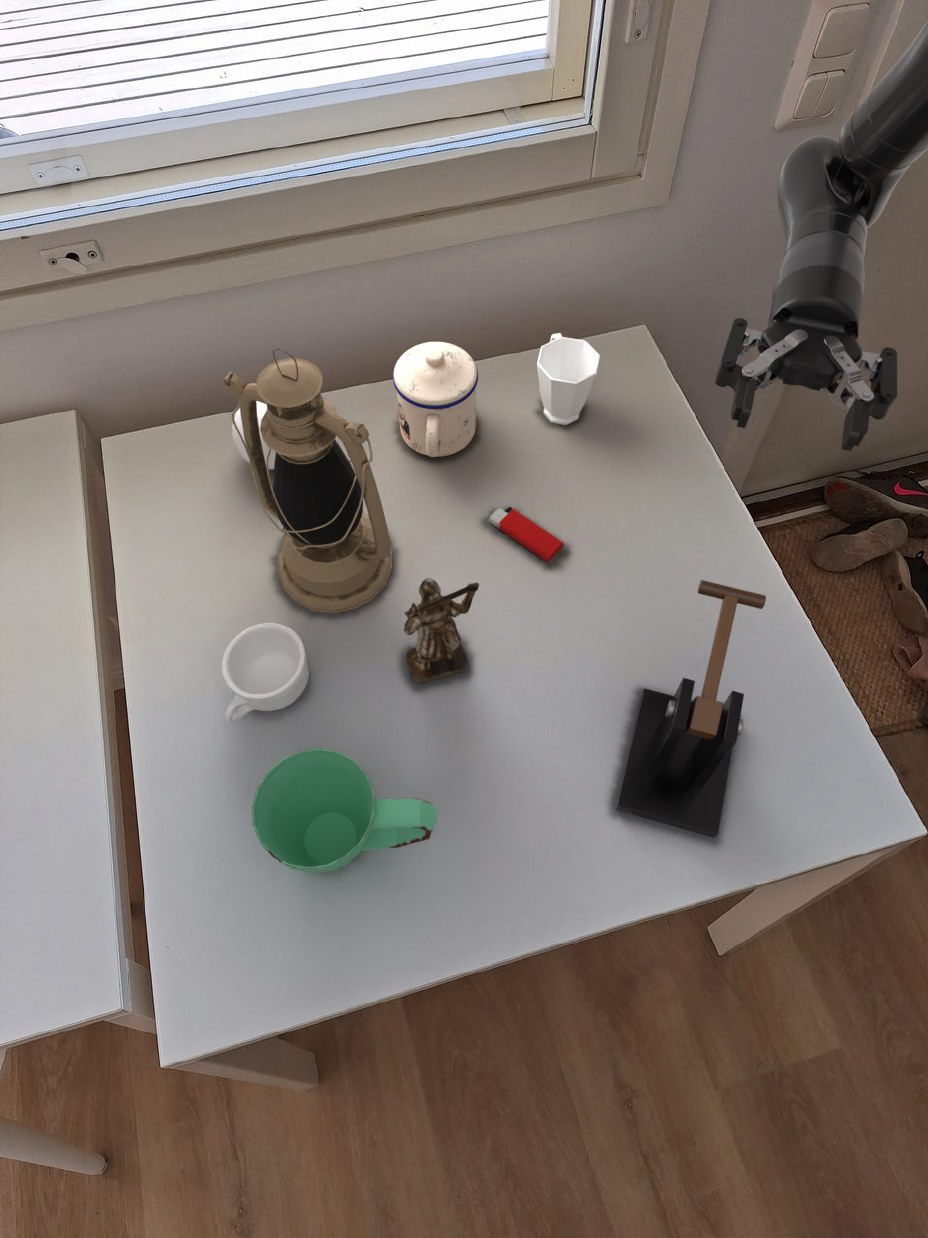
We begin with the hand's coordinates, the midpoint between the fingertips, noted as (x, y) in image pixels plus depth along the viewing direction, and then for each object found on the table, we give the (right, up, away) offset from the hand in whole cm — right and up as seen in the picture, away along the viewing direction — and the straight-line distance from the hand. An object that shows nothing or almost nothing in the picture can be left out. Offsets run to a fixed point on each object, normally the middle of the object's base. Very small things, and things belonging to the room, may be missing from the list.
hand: (796, 432), depth 71 cm
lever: (-6, -19, +3) cm, 20 cm away
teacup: (-46, -22, +14) cm, 53 cm away
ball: (-48, +3, +28) cm, 56 cm away
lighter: (-20, -6, +23) cm, 31 cm away
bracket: (-7, -29, +11) cm, 31 cm away
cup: (-16, +10, +32) cm, 37 cm away
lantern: (-40, -9, +21) cm, 47 cm away
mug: (-36, -35, +8) cm, 51 cm away
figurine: (-29, -19, +16) cm, 38 cm away
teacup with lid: (-30, +5, +29) cm, 42 cm away
